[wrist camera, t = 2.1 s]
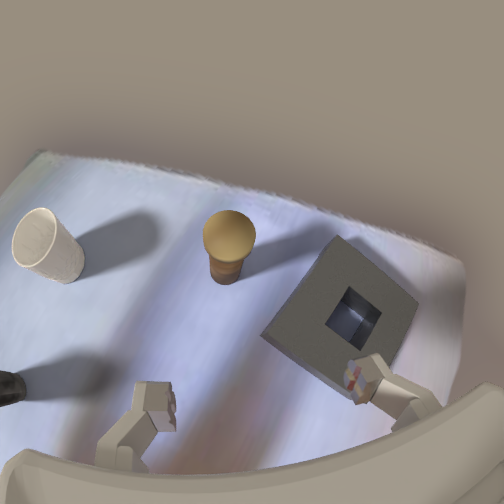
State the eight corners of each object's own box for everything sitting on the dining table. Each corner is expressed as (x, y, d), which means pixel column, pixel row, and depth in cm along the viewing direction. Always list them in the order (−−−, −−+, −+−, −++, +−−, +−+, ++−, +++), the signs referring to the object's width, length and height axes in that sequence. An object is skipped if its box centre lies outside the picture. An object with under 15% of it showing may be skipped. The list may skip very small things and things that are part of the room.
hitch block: (399, 310, 38) (418, 303, 33) (349, 399, 32) (366, 403, 28) (324, 248, 40) (337, 234, 35) (259, 335, 34) (266, 333, 30)
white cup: (73, 297, 33) (36, 278, 23) (40, 274, 33) (3, 251, 24) (97, 250, 36) (67, 219, 26) (63, 231, 36) (32, 200, 26)
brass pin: (250, 268, 38) (266, 231, 26) (227, 296, 36) (233, 269, 25) (222, 246, 38) (226, 201, 27) (198, 272, 36) (191, 236, 25)
